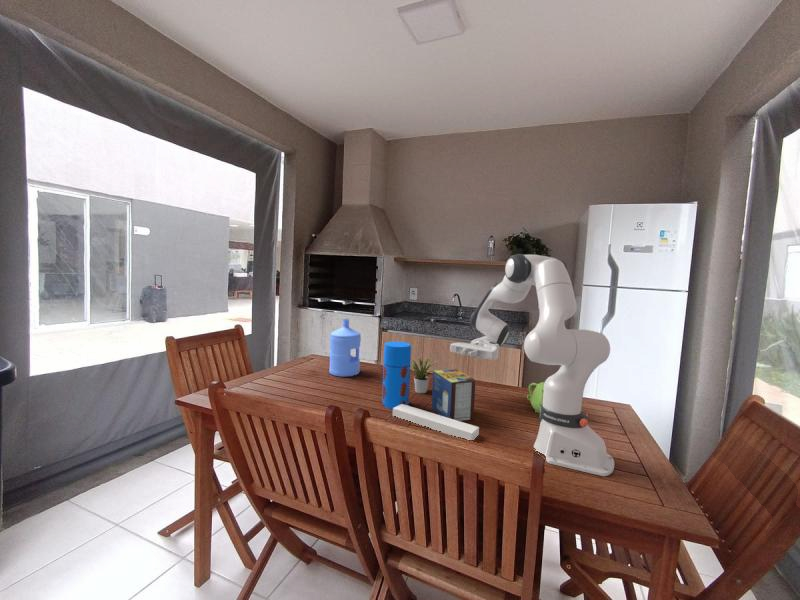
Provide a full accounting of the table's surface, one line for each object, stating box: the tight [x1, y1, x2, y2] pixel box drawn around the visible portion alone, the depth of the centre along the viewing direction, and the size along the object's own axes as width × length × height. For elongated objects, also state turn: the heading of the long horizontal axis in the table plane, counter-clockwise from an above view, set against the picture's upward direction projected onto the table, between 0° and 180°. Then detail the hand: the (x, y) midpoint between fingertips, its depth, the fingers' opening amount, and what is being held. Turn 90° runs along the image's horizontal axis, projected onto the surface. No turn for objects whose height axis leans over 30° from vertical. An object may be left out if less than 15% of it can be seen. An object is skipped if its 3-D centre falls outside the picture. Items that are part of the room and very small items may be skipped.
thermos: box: [382, 341, 412, 410], centre depth 148 cm, size 11×11×25 cm
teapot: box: [526, 381, 545, 414], centre depth 147 cm, size 16×14×13 cm
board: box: [392, 404, 480, 441], centre depth 131 cm, size 32×6×3 cm, turn 55°
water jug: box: [329, 318, 362, 378], centre depth 189 cm, size 16×16×28 cm
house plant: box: [410, 356, 438, 394], centre depth 166 cm, size 14×14×16 cm
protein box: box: [431, 368, 476, 422], centre depth 141 cm, size 10×15×16 cm
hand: (466, 353), depth 148 cm, fingers closed
